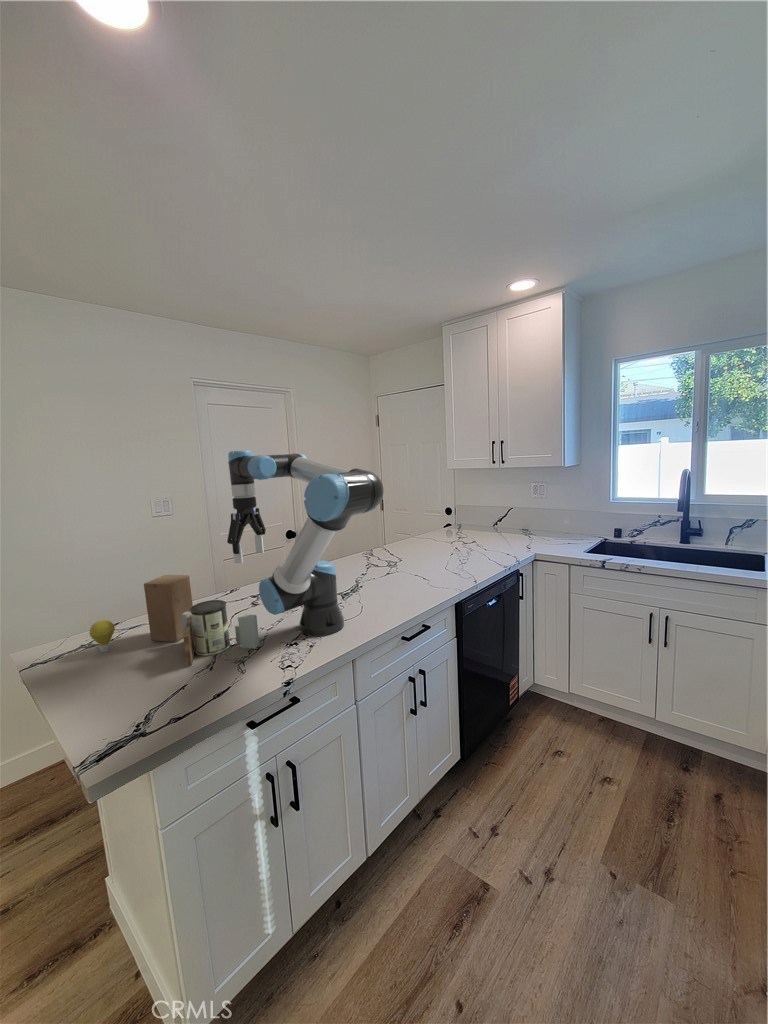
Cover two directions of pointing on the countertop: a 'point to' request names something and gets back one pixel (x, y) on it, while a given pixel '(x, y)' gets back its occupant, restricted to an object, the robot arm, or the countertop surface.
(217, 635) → the coffee can
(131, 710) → the countertop surface
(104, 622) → the light bulb
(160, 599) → the wooden block
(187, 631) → the gate
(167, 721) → the countertop surface
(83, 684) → the countertop surface
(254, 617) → the grey piece
